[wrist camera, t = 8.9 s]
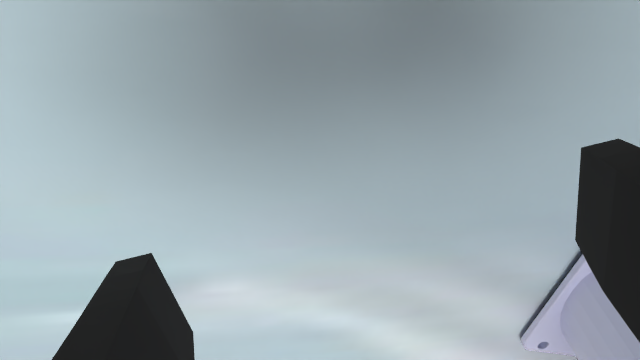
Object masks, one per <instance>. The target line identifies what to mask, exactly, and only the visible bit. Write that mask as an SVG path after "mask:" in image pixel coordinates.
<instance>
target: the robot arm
mask: <svg viewBox="0 0 640 360" xmlns="http://www.w3.org/2000/svg"><path fill="white" fill-rule="evenodd" d="M575 240H576V242H577V244H578V246H579V248H580V250H581V252H582V256H581V257H580V258H579V260H578V261H577V262H576V264H575V265H574V267H573V268H572V269H571V271H570V272H569V273H568V275H567V276H566V277H565V279H564V280H563V282H562V283H561V284H560V286H559V287H558V288H557V290H556V291H555V292H554V294H553V295H552V297H551V298H550V299H549V301H548V302H547V303H546V305H545V306H544V307H543V309H542V310H541V312H540V313H539V314H538V316H537V317H536V318H535V320H534V321H533V322H532V324H531V325H530V327H529V328H528V329H527V331H526V332H525V333H524V335H523V336H522V338H521V343H522V345H523V347H524V348H525V349H526V350H530V351H538V352H546V353H554V354H562V355H570V356H576V358H577V359H578V360H640V148H639V147H637V146H635V145H632V144H630V143H628V142H625V141H623V140H620V139H615V140H611V141H607V142H603V143H599V144H595V145H591V146H587V147H583V148H581V160H580V176H579V191H578V207H577V222H576V238H575ZM52 360H194V342H193V331H192V329H191V327H190V326H189V324H188V322H187V320H186V318H185V316H184V314H183V312H182V310H181V308H180V306H179V305H178V303H177V301H176V299H175V297H174V295H173V293H172V291H171V289H170V287H169V286H168V284H167V282H166V280H165V278H164V276H163V274H162V272H161V270H160V268H159V266H158V265H157V263H156V261H155V259H154V257H153V255H152V253H150V254H146V255H141V256H137V257H133V258H129V259H125V260H121V261H117V262H115V264H114V265H113V267H112V268H111V270H110V271H109V273H108V274H107V276H106V277H105V279H104V280H103V282H102V283H101V285H100V287H99V288H98V290H97V291H96V293H95V294H94V296H93V297H92V299H91V301H90V302H89V304H88V305H87V307H86V308H85V310H84V312H83V313H82V315H81V316H80V318H79V319H78V321H77V322H76V324H75V326H74V327H73V329H72V330H71V332H70V333H69V335H68V336H67V338H66V339H65V341H64V342H63V344H62V345H61V347H60V348H59V350H58V351H57V353H56V354H55V356H54V357H53V359H52Z"/></svg>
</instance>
